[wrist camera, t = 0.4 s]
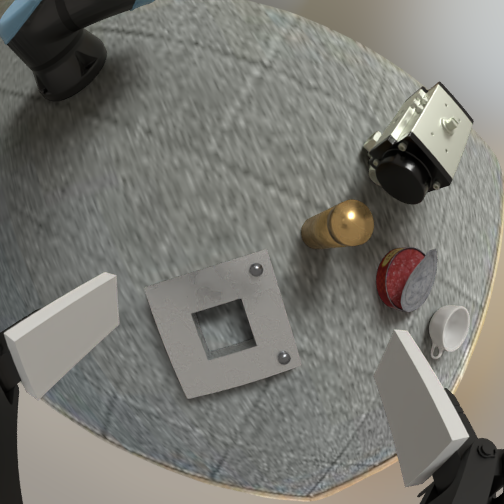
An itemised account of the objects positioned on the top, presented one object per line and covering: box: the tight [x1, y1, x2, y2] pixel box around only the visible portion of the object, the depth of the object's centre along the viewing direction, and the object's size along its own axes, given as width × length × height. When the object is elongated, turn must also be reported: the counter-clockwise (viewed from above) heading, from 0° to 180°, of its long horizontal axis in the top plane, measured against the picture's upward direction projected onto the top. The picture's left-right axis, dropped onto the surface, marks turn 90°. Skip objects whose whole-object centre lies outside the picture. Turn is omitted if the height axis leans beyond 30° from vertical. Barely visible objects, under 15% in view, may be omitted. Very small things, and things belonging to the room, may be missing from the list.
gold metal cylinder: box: [301, 200, 374, 249], centre depth 32 cm, size 5×5×12 cm
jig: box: [144, 249, 302, 399], centre depth 34 cm, size 16×16×4 cm
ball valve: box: [363, 82, 473, 204], centre depth 30 cm, size 18×8×18 cm, turn 141°
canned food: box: [376, 247, 437, 312], centre depth 36 cm, size 11×10×10 cm
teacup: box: [429, 305, 470, 359], centre depth 37 cm, size 10×8×5 cm
